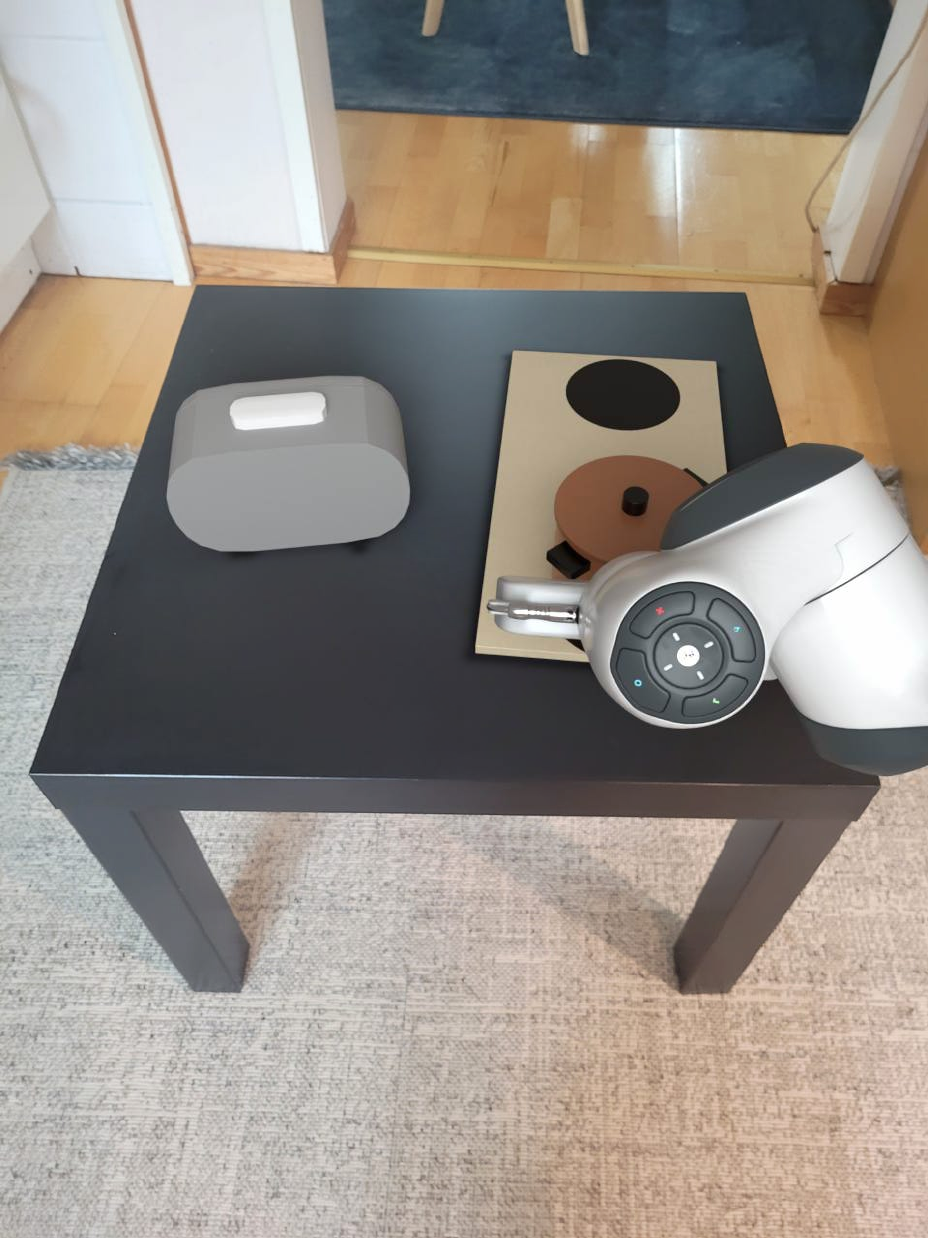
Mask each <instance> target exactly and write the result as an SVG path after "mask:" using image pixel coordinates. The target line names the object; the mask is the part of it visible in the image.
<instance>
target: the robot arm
mask: <svg viewBox="0 0 928 1238" xmlns="http://www.w3.org/2000/svg"><path fill="white" fill-rule="evenodd" d="M659 548H660V549H661V551H660V552H655V551H638V552H632V553H628V554H625V555H622V556H619V557H617V558H615V559H613V560H611V561H610V562H608V563H607V564H605V565H604V566H603V567H601V568H600V569H599V570H598V571H597V572H596V573H595V574H594V576H593V577H592V578H591V579H590V581H585V580H571V579H557V578H543V577H529V576H513V575H508V576H500V577H499V578H498V579H497V587H496V598H495V599H490V600H489V601H488V604H487V606H486V607H487V609H488V613H490V614H495V616H494V621H495V624H496V625H497V626H498V628H500V629H501V630H503V631H505V632H509V633H515V634H521V635H528V636H539V637H552V638H565V639H578V640H581V642H582V645H583V647H584V650H585V652H586V655H587V657H588V660H589V662H588V663H589V664H590V667H591V669H592V672H593V674H594V675H595V677H596V679H597V681H598V683H599V684H600V686H601V687H602V689H603V690H604V691H605V692H606V693H607V695H608V696H610V698H611V699H612V700H614V702H615V703H617V704H618V705H619V706H620V707H622V708H623V709H624V710H625V711H627V712H628V713H630V714H631V715H633V716H634V717H635V718H638V719H639V720H641V721H642V722H645V723H648V724H649V725H653V726H657V727H662V728H667V729H668V728H669V729H679V730H680V729H681V730H682V729H683V730H684V729H698V728H703V727H708V726H711V725H715V724H718V723H720V722H723V721H725V720H727V719H729V718H731V717H733V716H734V715H735V714H737V713H738V712H739V711H741V710H742V709H743V708H745V706H746V705H747V704H748V703H749V702H750V701H751V700H752V699H753V698H754V697H755V695H756V694H757V692H758V691H759V689H760V687H761V685H762V683H763V681H774V680H778V681H779V683H780V684H781V686H782V688H783V689H784V691H785V692H786V694H787V696H788V697H789V698H788V699H789V703H790V705H791V707H792V709H793V712H794V713H795V715H796V717H797V718H798V721H799V723H800V725H801V727H802V728H803V731H804V733H805V735H806V737H807V738H808V740H809V742H810V744H811V746H812V749H813V751H814V752H815V753H816V754H817V756H818V757H820V758H821V759H823V760H825V761H828V762H830V763H832V764H835V765H837V766H840V767H843V768H845V769H849V770H851V771H854V772H858V773H861V774H865V775H871V776H876V777H877V776H878V777H893V776H894V777H895V776H899V775H903V774H907V773H911V772H914V771H916V770H920V769H922V768H924V767H928V560H927V558H926V556H925V555H924V553H923V551H922V550H921V548H920V546H919V545H918V543H917V541H916V540H915V538H914V537H913V535H912V533H911V532H910V528H909V526H908V524H907V522H906V521H905V519H904V518H903V516H902V514H901V513H900V511H899V510H898V508H897V506H896V504H895V502H894V501H893V500H892V498H891V497H890V495H889V493H888V491H887V490H886V488H885V486H884V485H883V484H882V482H881V480H880V479H879V477H878V476H877V475H876V473H875V471H874V469H873V468H872V466H871V465H870V463H869V462H868V461H867V459H866V457H865V454H863V453H861V452H859V451H857V450H855V449H851V448H849V447H844V446H841V445H836V444H828V443H818V442H799V443H795V444H793V445H790V446H787V447H784V448H780V449H778V450H776V451H772V452H770V453H767V454H764V455H762V456H760V457H757V458H755V459H753V460H750V461H748V462H746V463H743V464H742V465H740V466H738V467H736V468H734V469H732V470H730V471H727V473H726V474H724V475H723V476H721V477H719V478H718V479H716V480H714V481H713V482H711V483H709V484H708V485H706V486H705V487H703V488H702V489H700V490H699V491H698V492H696V493H695V494H693V495H692V496H691V497H689V498H688V499H687V500H686V501H684V502H683V503H682V504H681V505H679V506H678V507H677V508H676V509H675V510H674V511H673V512H672V514H671V516H670V518H669V520H668V522H667V525H666V527H665V529H664V532H663V535H662V538H661V542H660V547H659Z"/></svg>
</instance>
